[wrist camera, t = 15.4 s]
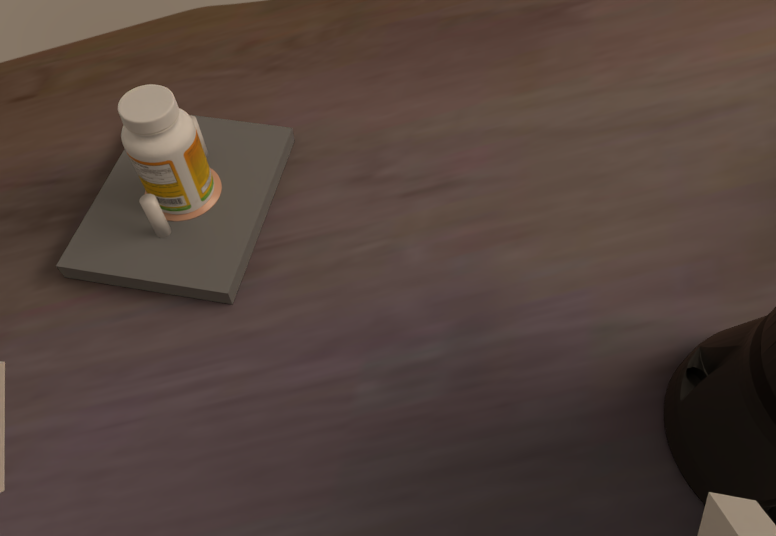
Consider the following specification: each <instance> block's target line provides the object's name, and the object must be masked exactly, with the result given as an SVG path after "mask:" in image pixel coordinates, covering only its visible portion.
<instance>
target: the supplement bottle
mask: <svg viewBox="0 0 776 536" xmlns="http://www.w3.org/2000/svg"><path fill="white" fill-rule="evenodd" d="M118 112H119V115H120V117H121V119H122V122H123V124H124V126H123V128H122V132H121V140H122V143H123V146H124V148H125V150H126V152H127V154H128V156H129V158H130V160H131V162H132V164H133V166H134V168H135V170H136V172H137V174H138V176H139V178H140V180H141V182H142V184H143V186H144V188H145V190H146V192H147V194H153V195H155V197H156V199H157V201H158V203H159V205H160V207H161V209H162V211H163V212H165V213H169V214H175V215H180V214H187V213H190V212H193V211H195V210H197V209H199V208H201V207H202V206H203V205H204V204H206V203H207V201H208V200H209V199H210V198H211V196H212V194H213V191H214V180H213V176H212V173H211V170H210V168H209V165H208V162H207V159H206V156H205V153H204V150H203V148H202V145H201V142H200V139H199V136H198V133H197V130H196V128H195V125H194V123H193V120H192V119H191V117H190V116H189V115H188V114H187V113H186V112H185V111H183V110H182V109H180V108H178V105H177V102H176V100H175V97H174V95H173V93H172V92H171V91H170V90H169V89H168V88H166V87H164V86H160V85H154V84H150V85H143V86H139V87H136V88H134V89H132V90H130V91H128V92H127V93H126V94H125V95H124V96H123V97H122V98H121V99H120V101H119V104H118Z"/></svg>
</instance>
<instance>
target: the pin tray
mask: <svg viewBox="0 0 776 536" xmlns="http://www.w3.org/2000/svg"><path fill="white" fill-rule="evenodd" d="M189 116H190V117H191V119H192V120H193V123H194V125H195V128H196V130H197V133H198V136H199V139H200V142H201V145H202V148H203V150H204V153H205V156H206V159H207V162H208V165H209V168H210V170H211V173H212V176H213V180H214V191H213V194H212V196H211V198H210V199H209V200H208V201H207V203H206V204H204V205H203V206H202V207H201V208H199V209H197V210H195V211H193V212H190V213H187V214H180V215H175V214H169V213H165V212H163V211H162V209H161V207H160V205H159V203H158V201H157V199H156V197H155V195H153V194H147V192H146V190H145V188H144V186H143V184H142V182H141V180H140V178H139V176H138V174H137V172H136V170H135V168H134V166H133V164H132V162H131V160H130V158H129V156H128V154H127V152H126V150H125V149H124V151H123V152H122V154H121V156H120V158H119V159H118V161H117V163H116V164H115V166H114V168H113V169H112V171H111V173H110V175H109V176H108V178H107V180H106V181H105V183H104V185H103V187H102V188H101V190H100V192H99V193H98V195H97V197H96V198H95V200H94V202H93V204H92V205H91V207H90V209H89V210H88V212H87V214H86V216H85V217H84V219H83V221H82V222H81V224H80V226H79V227H78V229H77V231H76V233H75V234H74V236H73V238H72V239H71V241H70V243H69V245H68V246H67V248H66V250H65V251H64V253H63V255H62V256H61V258H60V260H59V262H58V263H57V265H56V267H57V268H58V269H59V271H60V272H61V273H62V274H63V276H64V277H66V278H72V279H78V280H85V281H91V282H97V283H103V284H109V285H115V286H122V287H128V288H134V289H140V290H146V291H153V292H159V293H165V294H171V295H177V296H183V297H190V298H196V299H202V300H208V301H214V302H220V303H227V304H233V302H234V299H235V297H236V294H237V291H238V289H239V286H240V284H241V281H242V278H243V276H244V273H245V270H246V268H247V265H248V262H249V260H250V257H251V254H252V252H253V249H254V247H255V244H256V241H257V239H258V236H259V233H260V231H261V228H262V225H263V223H264V220H265V218H266V215H267V212H268V210H269V207H270V204H271V202H272V199H273V196H274V194H275V191H276V189H277V186H278V183H279V181H280V178H281V175H282V173H283V170H284V167H285V165H286V162H287V160H288V157H289V154H290V152H291V149H292V146H293V144H294V141H295V140H294V135H293V129H292V128H289V127H281V126H273V125H265V124H257V123H250V122H242V121H234V120H226V119H218V118H210V117H203V116H195V115H189Z"/></svg>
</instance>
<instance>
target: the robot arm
mask: <svg viewBox="0 0 776 536" xmlns="http://www.w3.org/2000/svg"><path fill="white" fill-rule="evenodd" d="M664 422H665V430H666V435H667V439H668V443H669V446H670V449H671V451H672V454H673V457H674V459H675V461H676V463H677V465H678V467H679V469H680V471H681V473H682V474H683V476H684V478H685V479H686V481H687V482H688V484H689V485H690V487H691V488H692V489H693V491H694V492H695V493H696V494H697V496H698V497H699V498H700V499H701V500H702V502H703V503H704V504H705V508H704V512H703V516H702V520H701V524H700V528H699V532H698V536H776V307H775V308H774V309H773V311H772V312H771V313H769V314H768V315H767V316H764V317H761V318H758V319H755V320H752V321H750V322H747V323H744V324H741V325H738V326H735V327H732V328H729V329H726V330H723V331H721V332H718V333H716V334H714V335H713V336H711V337H709V338H708V339H706V340H705V341H703V342H702V343H701V344H699V345H698V346H697V347H696V348H695V349H694V350H693V351H692V352H691V353H690V354H689V355H688V356H687V358H686V359H685V360H684V361H683V362H682V363H681V364H680V366H679V367H678V368H677V370H676V371H675V373H674V374H673V376H672V378H671V380H670V383H669V385H668V388H667V392H666V396H665V403H664ZM4 437H5V362H2V361H0V493H1V492H2V491H4Z"/></svg>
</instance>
